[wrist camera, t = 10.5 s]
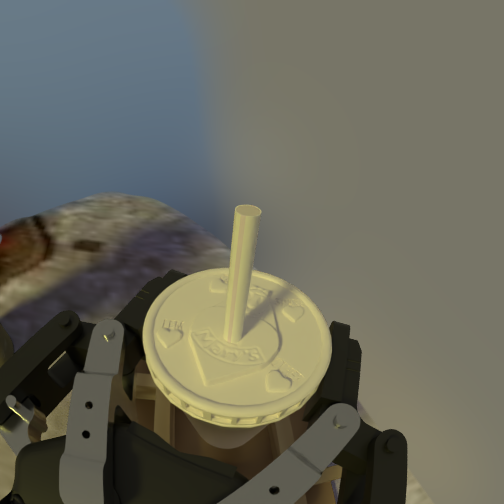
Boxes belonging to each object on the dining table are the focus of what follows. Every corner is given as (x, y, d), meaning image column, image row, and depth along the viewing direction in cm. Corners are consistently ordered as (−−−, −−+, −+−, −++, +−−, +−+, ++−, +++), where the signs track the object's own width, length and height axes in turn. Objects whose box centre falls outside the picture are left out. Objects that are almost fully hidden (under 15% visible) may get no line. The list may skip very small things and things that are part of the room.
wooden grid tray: (126, 521, 11) (110, 523, 8) (135, 362, 24) (126, 340, 22) (333, 511, 14) (353, 510, 11) (297, 362, 27) (307, 341, 25)
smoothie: (154, 438, 12) (52, 226, 4) (202, 364, 17) (205, 150, 9) (256, 483, 11) (404, 360, 3) (290, 399, 16) (383, 196, 8)
